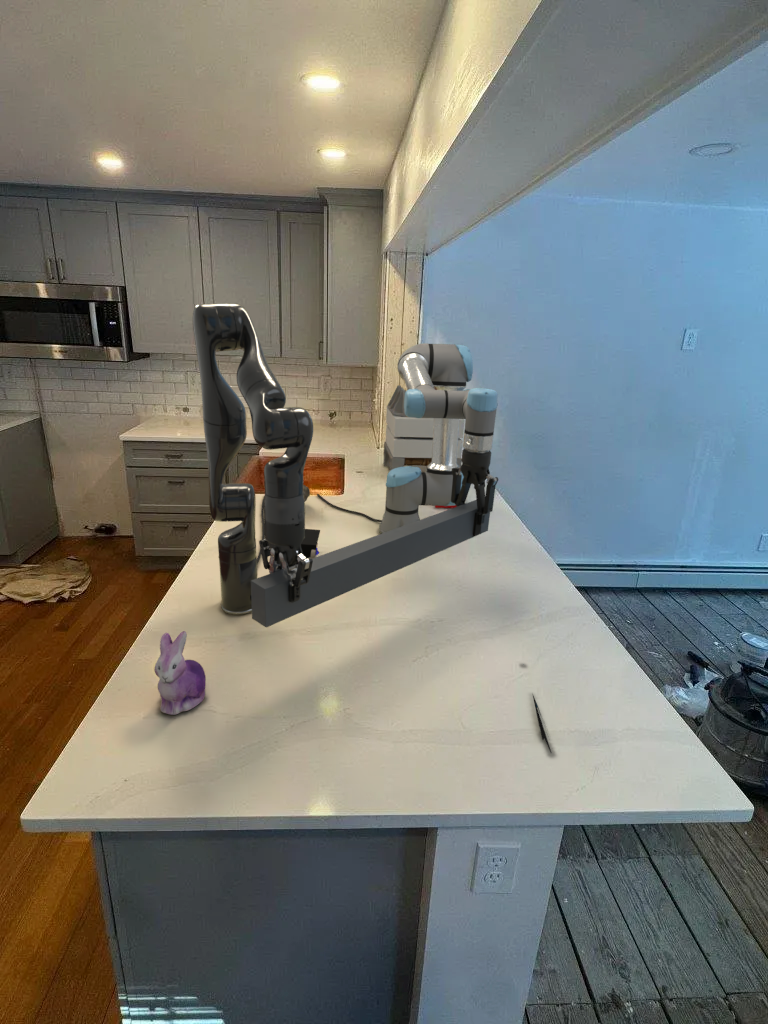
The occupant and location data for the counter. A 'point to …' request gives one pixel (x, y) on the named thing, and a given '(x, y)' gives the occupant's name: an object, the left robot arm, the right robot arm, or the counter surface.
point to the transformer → (410, 436)
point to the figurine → (178, 677)
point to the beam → (363, 563)
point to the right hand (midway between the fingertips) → (468, 531)
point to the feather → (541, 724)
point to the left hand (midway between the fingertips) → (285, 595)
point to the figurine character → (310, 543)
